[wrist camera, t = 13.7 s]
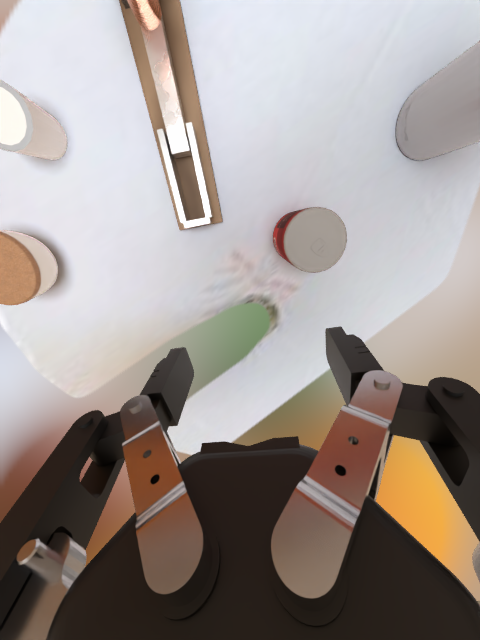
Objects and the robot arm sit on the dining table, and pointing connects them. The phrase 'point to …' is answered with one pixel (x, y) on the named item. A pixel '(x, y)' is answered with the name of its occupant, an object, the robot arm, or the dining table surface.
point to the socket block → (126, 4)
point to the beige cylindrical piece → (28, 127)
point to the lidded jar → (24, 268)
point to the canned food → (310, 238)
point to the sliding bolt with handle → (163, 73)
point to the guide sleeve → (175, 178)
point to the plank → (188, 100)
